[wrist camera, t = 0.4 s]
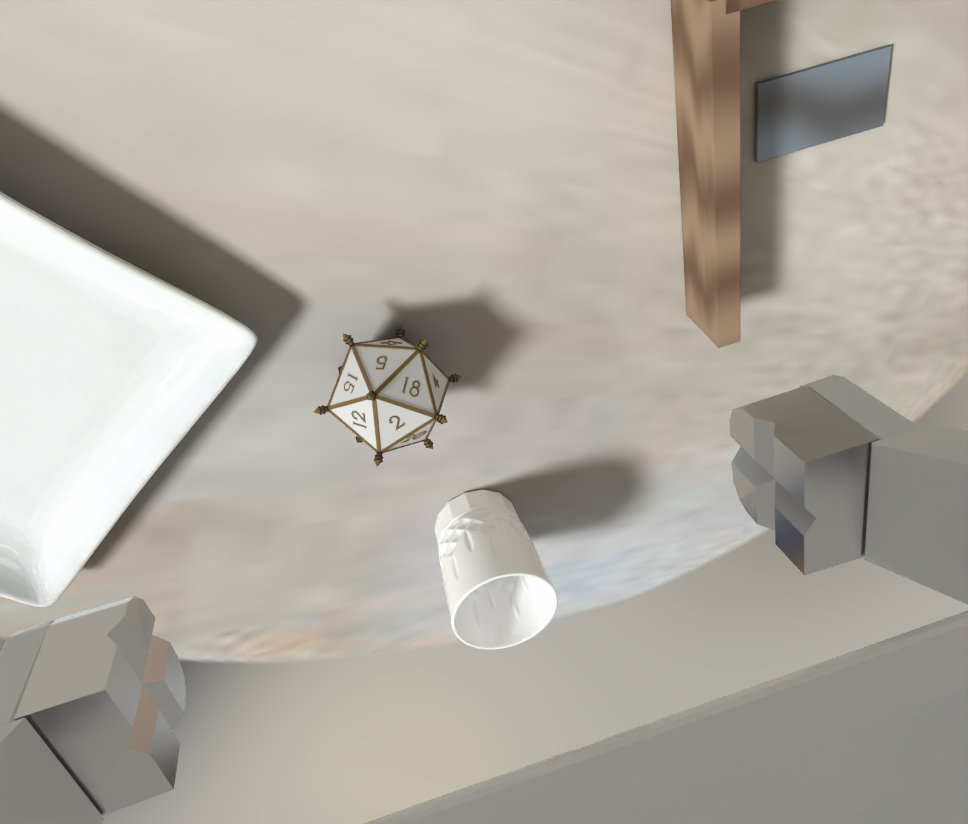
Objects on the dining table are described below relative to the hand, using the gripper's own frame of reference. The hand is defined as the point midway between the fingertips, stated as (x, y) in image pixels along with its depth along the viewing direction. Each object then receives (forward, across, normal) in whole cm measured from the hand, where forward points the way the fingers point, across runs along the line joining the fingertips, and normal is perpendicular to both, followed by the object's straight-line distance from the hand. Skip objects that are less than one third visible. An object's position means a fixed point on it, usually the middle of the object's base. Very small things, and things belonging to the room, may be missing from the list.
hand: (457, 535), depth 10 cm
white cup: (+42, -3, +33) cm, 54 cm away
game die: (+41, +1, +16) cm, 44 cm away
